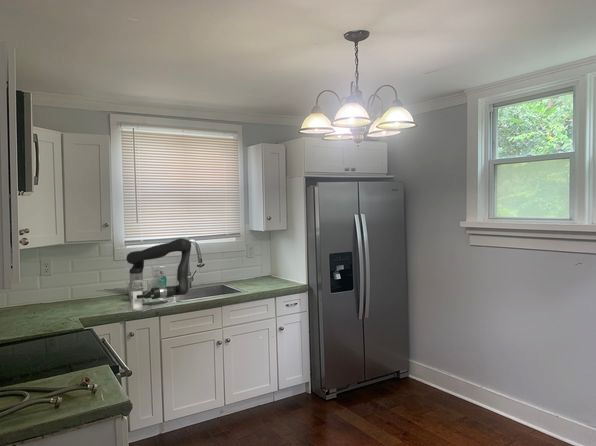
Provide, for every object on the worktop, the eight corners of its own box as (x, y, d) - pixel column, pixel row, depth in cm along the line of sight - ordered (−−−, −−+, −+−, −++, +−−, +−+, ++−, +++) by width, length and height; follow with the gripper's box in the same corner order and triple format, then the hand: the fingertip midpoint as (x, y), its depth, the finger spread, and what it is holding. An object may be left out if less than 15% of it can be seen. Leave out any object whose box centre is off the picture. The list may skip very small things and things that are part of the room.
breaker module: (129, 307, 294) (129, 292, 293) (140, 305, 298) (140, 290, 298) (131, 308, 291) (131, 293, 290) (142, 306, 295) (142, 291, 295)
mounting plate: (118, 308, 293) (118, 307, 293) (131, 304, 304) (131, 303, 304) (143, 311, 285) (143, 310, 285) (155, 307, 297) (155, 306, 297)
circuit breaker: (152, 299, 322) (151, 278, 321) (143, 303, 308) (142, 281, 307) (142, 298, 323) (141, 278, 322) (132, 303, 309) (132, 281, 308)
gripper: (154, 285, 309) (130, 288, 299) (162, 288, 298) (138, 291, 288) (155, 296, 309) (131, 299, 299) (162, 300, 298) (138, 303, 288)
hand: (134, 295), depth 293 cm, fingers open, 8 cm apart
